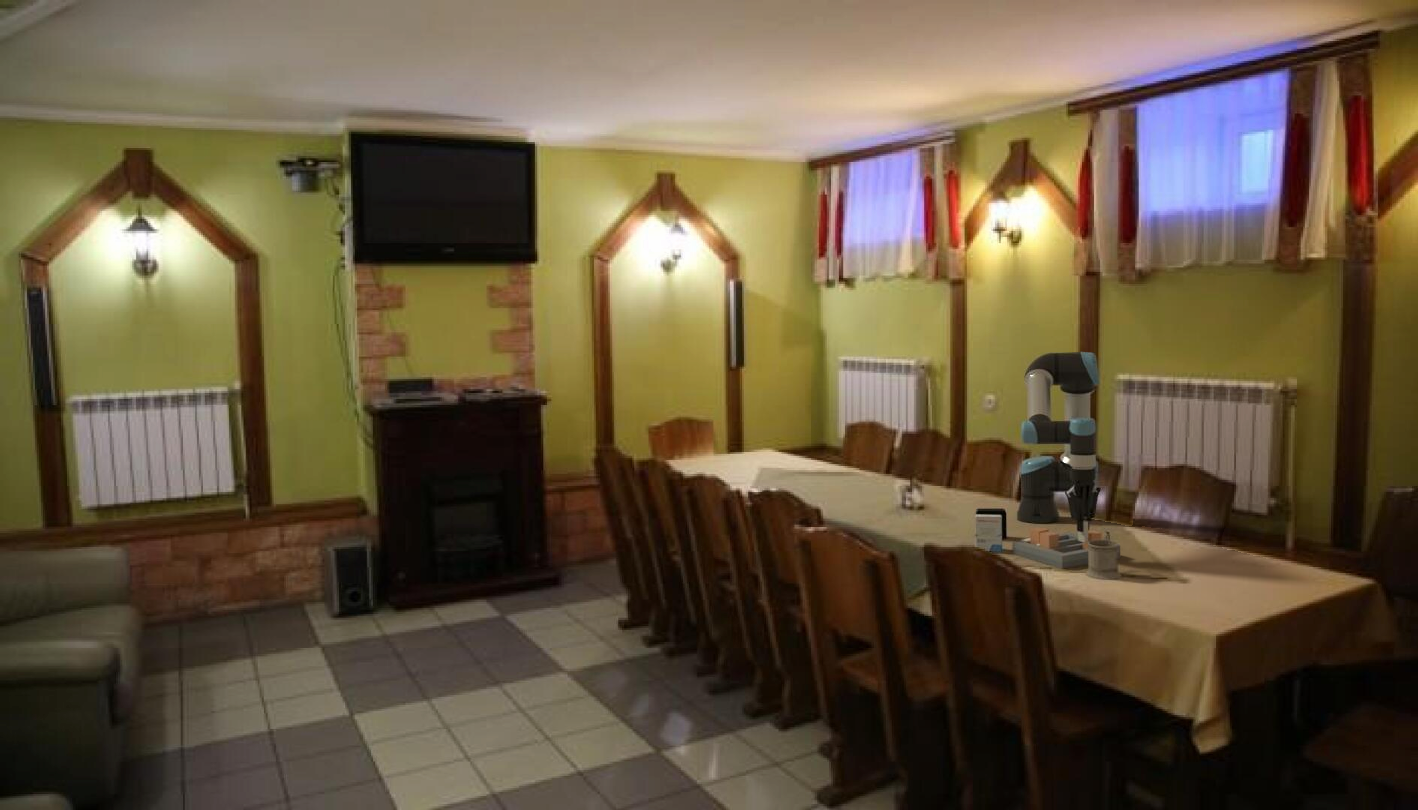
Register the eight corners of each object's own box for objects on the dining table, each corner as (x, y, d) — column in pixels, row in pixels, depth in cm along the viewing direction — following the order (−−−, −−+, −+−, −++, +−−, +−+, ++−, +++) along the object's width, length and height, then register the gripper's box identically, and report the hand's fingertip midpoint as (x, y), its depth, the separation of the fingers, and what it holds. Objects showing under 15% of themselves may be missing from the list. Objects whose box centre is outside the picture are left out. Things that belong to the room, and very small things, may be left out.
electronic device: (1006, 539, 342) (1006, 510, 341) (976, 539, 344) (976, 510, 343) (1005, 536, 347) (1005, 508, 346) (976, 536, 349) (975, 508, 348)
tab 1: (1039, 545, 323) (1039, 527, 323) (1048, 547, 320) (1048, 529, 319) (1030, 547, 322) (1030, 528, 321) (1039, 549, 318) (1039, 531, 318)
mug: (1117, 581, 288) (1117, 540, 287) (1082, 577, 293) (1082, 537, 292) (1126, 568, 300) (1126, 530, 299) (1092, 565, 305) (1092, 527, 304)
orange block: (1091, 548, 317) (1091, 530, 316) (1101, 551, 313) (1101, 532, 312) (1082, 550, 315) (1082, 531, 314) (1092, 552, 311) (1091, 534, 311)
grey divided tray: (1068, 543, 333) (1068, 531, 332) (1120, 557, 313) (1120, 544, 312) (1012, 553, 323) (1012, 540, 322) (1062, 568, 303) (1062, 555, 302)
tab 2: (1049, 549, 317) (1049, 531, 317) (1058, 552, 314) (1058, 533, 313) (1040, 551, 316) (1039, 533, 315) (1049, 554, 312) (1049, 535, 311)
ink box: (1002, 548, 330) (1002, 513, 329) (1001, 552, 325) (1001, 517, 324) (976, 547, 333) (975, 513, 331) (975, 551, 328) (974, 516, 327)
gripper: (1089, 463, 316) (1089, 536, 318) (1058, 467, 311) (1058, 541, 313) (1107, 466, 309) (1107, 540, 311) (1076, 471, 304) (1076, 546, 306)
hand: (1083, 541), depth 312 cm, fingers closed
